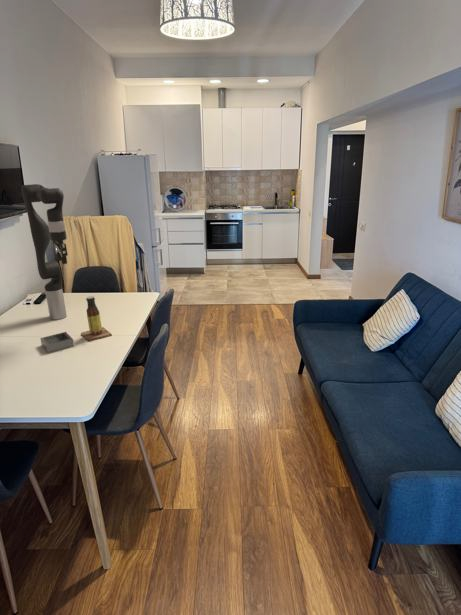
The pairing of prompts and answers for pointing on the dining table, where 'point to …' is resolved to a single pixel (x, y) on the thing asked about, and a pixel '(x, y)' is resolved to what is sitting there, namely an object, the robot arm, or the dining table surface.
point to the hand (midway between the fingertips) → (62, 262)
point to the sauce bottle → (93, 317)
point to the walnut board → (95, 337)
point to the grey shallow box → (57, 342)
